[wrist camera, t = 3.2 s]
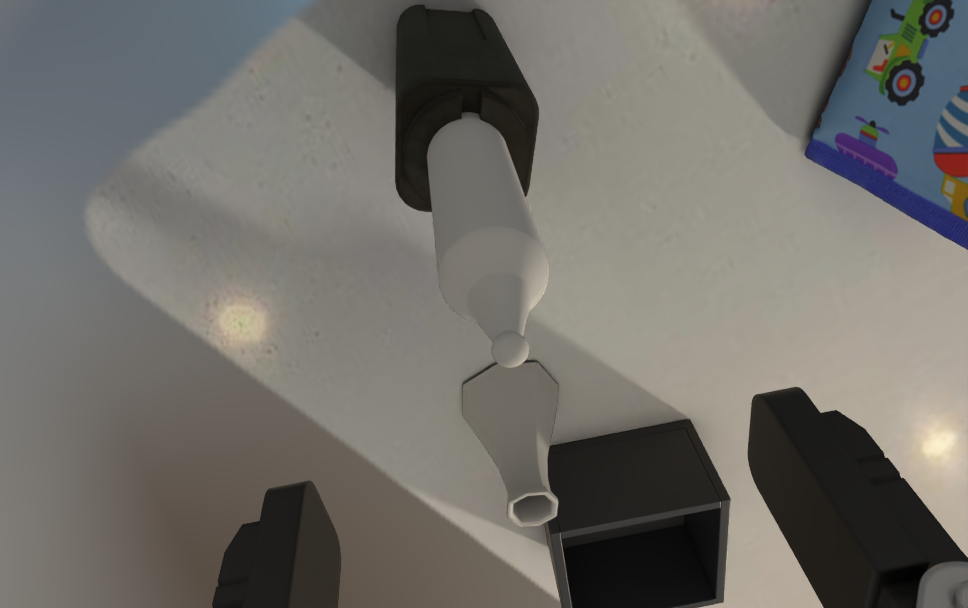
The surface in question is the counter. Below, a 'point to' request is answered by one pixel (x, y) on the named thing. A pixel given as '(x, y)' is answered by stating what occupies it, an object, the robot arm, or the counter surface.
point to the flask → (517, 434)
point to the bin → (638, 520)
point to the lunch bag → (904, 112)
